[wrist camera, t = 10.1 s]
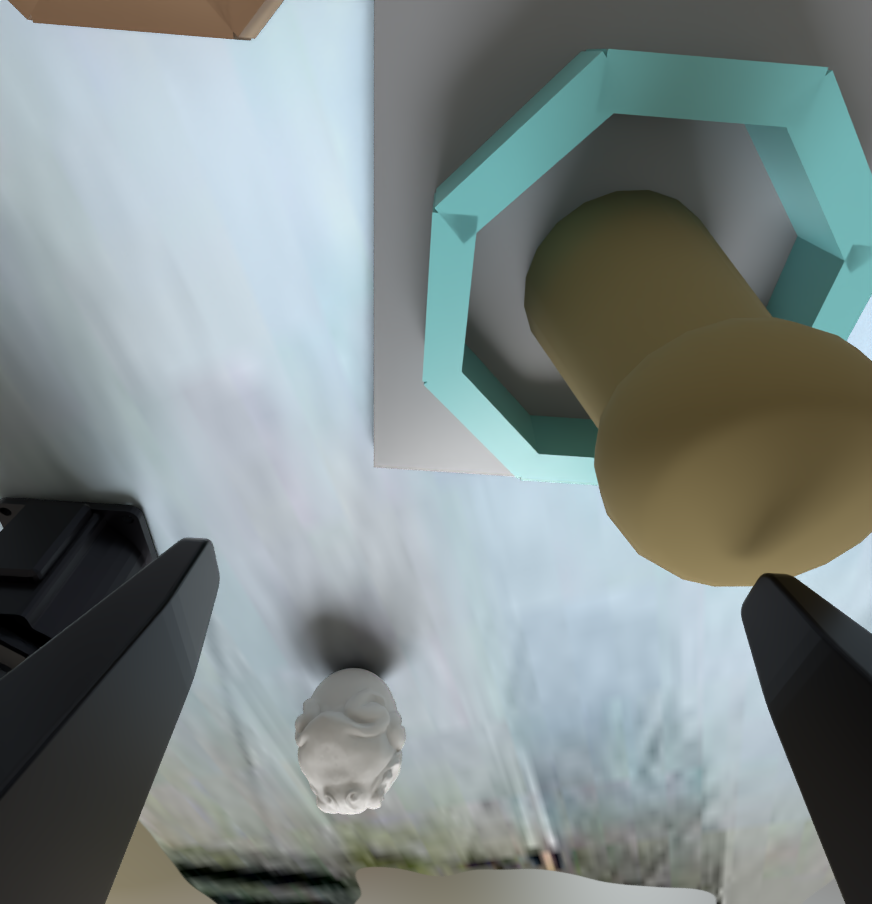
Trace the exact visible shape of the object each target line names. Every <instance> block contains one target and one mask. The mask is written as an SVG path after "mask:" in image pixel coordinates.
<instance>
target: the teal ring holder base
mask: <svg viewBox="0 0 872 904" xmlns="http://www.w3.org/2000/svg"><path fill="white" fill-rule="evenodd" d="M630 190H651V191H654V192H657V193H660V194H662V195H665V196H668V197H671V198H674V199H677V200H679V201H680V202H681V203H682V204H683V205H684V206H685V207H687V208H688V209H689V210H690V211H691V212H692V213H693V214H694V215H696V216H697V217H698V218H699V219H700V220H701V222H702V223H703V224H704V226H705V227H706V228H707V230H708V231H709V232H710V234H711V235H712V236H713V238H714V239H715V240H716V242H717V243H718V245H719V246H720V247H721V249H722V250H723V251H724V253H725V254H726V255H727V257H728V258H729V259H730V261H731V262H732V263H733V265H734V266H735V267H736V269H737V270H738V271H739V273H740V274H741V275H742V277H743V278H744V279H745V281H746V282H747V283H748V285H749V286H750V287H751V289H752V290H753V291H754V293H755V294H756V295H757V297H758V298H759V299H760V301H761V302H762V303H763V305H764V306H765V307H766V309H767V310H768V311H769V313H770V314H771V315H772V317H776V318H780V319H784V320H788V321H792V322H797V323H800V324H803V325H806V326H809V327H812V328H816V329H819V330H822V331H825V332H828V333H832V334H835V335H838V336H839V337H841V338H842V339H844V340H845V341H847V339H848V337H849V335H850V333H851V332H852V330H853V328H854V326H855V324H856V322H857V321H858V319H859V317H860V315H861V313H862V311H863V310H864V308H865V306H866V304H867V302H868V300H869V299H870V297H871V295H872V0H374V467H376V468H391V469H407V470H422V471H437V472H452V473H467V474H483V475H498V476H513V477H516V478H517V479H519V478H520V479H521V480H522V481H537V482H552V483H568V484H583V485H598V481H597V477H596V473H595V468H594V457H595V445H596V439H597V433H598V428H597V427H596V425H595V424H594V422H593V421H592V419H591V418H590V416H589V415H588V414H587V412H586V411H585V409H584V408H583V406H582V405H581V403H580V402H579V400H578V399H577V398H576V396H575V395H574V393H573V392H572V390H571V389H570V387H569V386H568V384H567V383H566V382H565V380H564V379H563V377H562V376H561V374H560V373H559V371H558V370H557V368H556V367H555V366H554V364H553V363H552V361H551V360H550V358H549V357H548V355H547V354H546V352H545V351H544V350H543V348H542V347H541V345H540V344H539V342H538V341H537V339H536V338H535V336H534V335H533V334H532V332H531V330H530V326H529V323H528V319H527V315H526V312H525V308H524V297H525V281H526V276H527V273H528V271H529V268H530V266H531V263H532V260H533V258H534V255H535V253H536V250H537V248H538V247H539V246H540V244H541V243H542V242H543V240H544V239H545V238H546V237H547V235H548V234H549V233H550V231H551V230H552V229H553V227H554V226H555V225H556V224H557V223H558V222H559V221H560V220H562V219H563V218H564V217H566V216H567V215H568V214H570V213H571V212H572V211H574V210H575V209H576V208H578V207H579V206H581V205H582V204H583V203H585V202H587V201H590V200H593V199H596V198H598V197H601V196H604V195H607V194H609V193H612V192H615V191H630ZM598 486H599V485H598Z"/></svg>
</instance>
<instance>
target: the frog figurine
mask: <svg viewBox="0 0 872 904" xmlns="http://www.w3.org/2000/svg"><path fill="white" fill-rule="evenodd" d="M401 722H402V718H401V715H400V714H399V712H398V711H397V707H396V702H395V700H394V699H393V696H392V694H391V692H390V690H389V688H388V686H387V685H386V684H385V682H384V681H383V680H382V679H381V678H380V677H378V676H377V675H376V674H374V673H372V672H370V671H368V670H365V669H361V668H347V669H343V670H339V671H337V672H335V673H333V674H331V675H330V676H328V677H327V678H326V679H324V680H323V681H322V682H321V683H320V684H319V686H318V687H317V688H316V690H315V691H314V693H313V695H312V697H311V698H309V699H307V700H306V701H305V702H304V703H303V714H301V715H300V716H299V717H297V719H296V722H295V728H296V732H295V739H296V743H297V745H298V746H299V748H298V761H299V765H300V767H301V770H302V771H303V773H304V775H305V776H306V777H307V779H308V781H309V783H310V788H311V789H312V791H313V792H314V793H315V794H316V795H317V799H316V803H317V806H318V807H319V809H321V810H322V811H324V812H325V813H332V814H334V813H340V814H346V813H348V814H352V815H353V814H358V813H361V812H363V811H364V810H366V808H370V809H376V808H379V807H381V801H383V800H384V795H385V794H386V793H387V791H388V790H389V789H390V787H391V786H392V784H393V783H394V781H395V780H396V778H397V776H398V775H399V772H400V769H401V762H402V751H401V749H402V747H403V745H404V743H405V739H406V733H405V728H404V727H403V726H402V725H401Z"/></svg>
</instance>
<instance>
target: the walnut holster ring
mask: <svg viewBox="0 0 872 904" xmlns="http://www.w3.org/2000/svg"><path fill="white" fill-rule="evenodd" d="M8 1H9V2H10V3H11V4H12V5H13V6H14V7H15V8H16V9H17V10H18V11H19V12H20V13H21V14H22V15H23V16H24V17H25V18H27V19H28V20H33V23H44V24H56V25H68V26H80V27H92V28H104V29H116V30H128V31H140V32H152V33H164V34H176V35H188V36H201V37H213V38H225V39H237V40H251V38H254V39H255V38H256V37H257V35H258V34H259V33H260V31H261V30H262V29H263V27H264V26H265V25H266V23H267V22H268V21H269V19H270V18H271V17H272V15H273V14H274V13H275V11H276V10H277V9H278V8H279V6H280V5H281V4H282V2H283V1H284V0H8Z"/></svg>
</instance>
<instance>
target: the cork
mask: <svg viewBox="0 0 872 904" xmlns="http://www.w3.org/2000/svg"><path fill="white" fill-rule="evenodd" d="M524 308H525V312H526V315H527V319H528V323H529V326H530V330H531V332H532V334H533V335H534V336H535V338H536V339H537V341H538V342H539V344H540V345H541V347H542V348H543V350H544V351H545V352H546V354H547V355H548V357H549V358H550V360H551V361H552V363H553V364H554V366H555V367H556V368H557V370H558V371H559V373H560V374H561V376H562V377H563V379H564V380H565V382H566V383H567V384H568V386H569V387H570V389H571V390H572V392H573V393H574V395H575V396H576V398H577V399H578V400H579V402H580V403H581V405H582V406H583V408H584V409H585V411H586V412H587V414H588V415H589V416H590V418H591V419H592V421H593V422H594V424H595V425H596V427H597V428H598V433H597V439H596V445H595V457H594V468H595V473H596V477H597V481H598V485H599V489H600V493H601V497H602V500H603V503H604V506H605V509H606V513H607V515H608V516H609V517H610V519H611V520H612V521H613V523H614V524H615V525H616V526H617V528H618V529H619V530H620V531H621V533H622V534H623V535H624V537H625V538H626V539H627V540H628V542H629V543H630V544H631V545H632V547H633V548H634V549H635V550H636V552H637V553H638V554H639V555H641V556H643V557H644V558H646V559H648V560H650V561H651V562H653V563H655V564H657V565H658V566H660V567H662V568H664V569H665V570H667V571H669V572H671V573H672V574H674V575H676V576H678V577H680V578H681V579H684V580H688V581H693V582H697V583H701V584H706V585H710V586H754V584H755V583H756V581H757V579H758V578H759V577H760V576H761V575H762V574H764V573H780V574H788V575H791V576H793V577H794V576H797V575H799V574H802V573H804V572H807V571H809V570H812V569H814V568H817V567H819V566H822V565H825V564H827V563H828V562H830V561H832V560H833V559H835V558H836V557H838V556H840V555H841V554H843V553H845V552H846V551H848V550H849V549H851V548H853V547H854V546H856V545H857V544H859V543H861V542H862V541H863V540H864V539H865V538H866V537H867V536H868V535H869V534H870V533H871V532H872V361H871V360H870V359H869V358H868V357H867V356H865V355H864V354H863V353H862V352H861V351H860V350H859V349H857V348H856V347H854V346H853V345H851V344H850V343H848V342H847V341H845V340H844V339H842V338H841V337H839V336H838V335H835V334H832V333H828V332H825V331H822V330H819V329H816V328H812V327H809V326H806V325H803V324H800V323H797V322H792V321H788V320H784V319H780V318H776V317H772V315H771V314H770V313H769V311H768V310H767V309H766V307H765V306H764V305H763V303H762V302H761V301H760V299H759V298H758V297H757V295H756V294H755V293H754V291H753V290H752V289H751V287H750V286H749V285H748V283H747V282H746V281H745V279H744V278H743V277H742V275H741V274H740V273H739V271H738V270H737V269H736V267H735V266H734V265H733V263H732V262H731V261H730V259H729V258H728V257H727V255H726V254H725V253H724V251H723V250H722V249H721V247H720V246H719V245H718V243H717V242H716V240H715V239H714V238H713V236H712V235H711V234H710V232H709V231H708V230H707V228H706V227H705V226H704V224H703V223H702V222H701V220H700V219H699V218H698V217H697V216H696V215H694V214H693V213H692V212H691V211H690V210H689V209H688V208H687V207H685V206H684V205H683V204H682V203H681V202H680V201H679V200H677V199H674V198H671V197H668V196H665V195H662V194H660V193H657V192H654V191H651V190H630V191H615V192H612V193H609V194H607V195H604V196H601V197H598V198H596V199H593V200H590V201H587V202H585V203H583V204H582V205H581V206H579V207H578V208H576V209H575V210H574V211H572V212H571V213H570V214H568V215H567V216H566V217H564V218H563V219H562V220H560V221H559V222H558V223H557V224H556V225H555V226H554V227H553V229H552V230H551V231H550V233H549V234H548V235H547V237H546V238H545V239H544V240H543V242H542V243H541V244H540V246H539V247H538V248H537V250H536V253H535V255H534V258H533V260H532V263H531V266H530V268H529V271H528V273H527V276H526V281H525V297H524Z"/></svg>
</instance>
